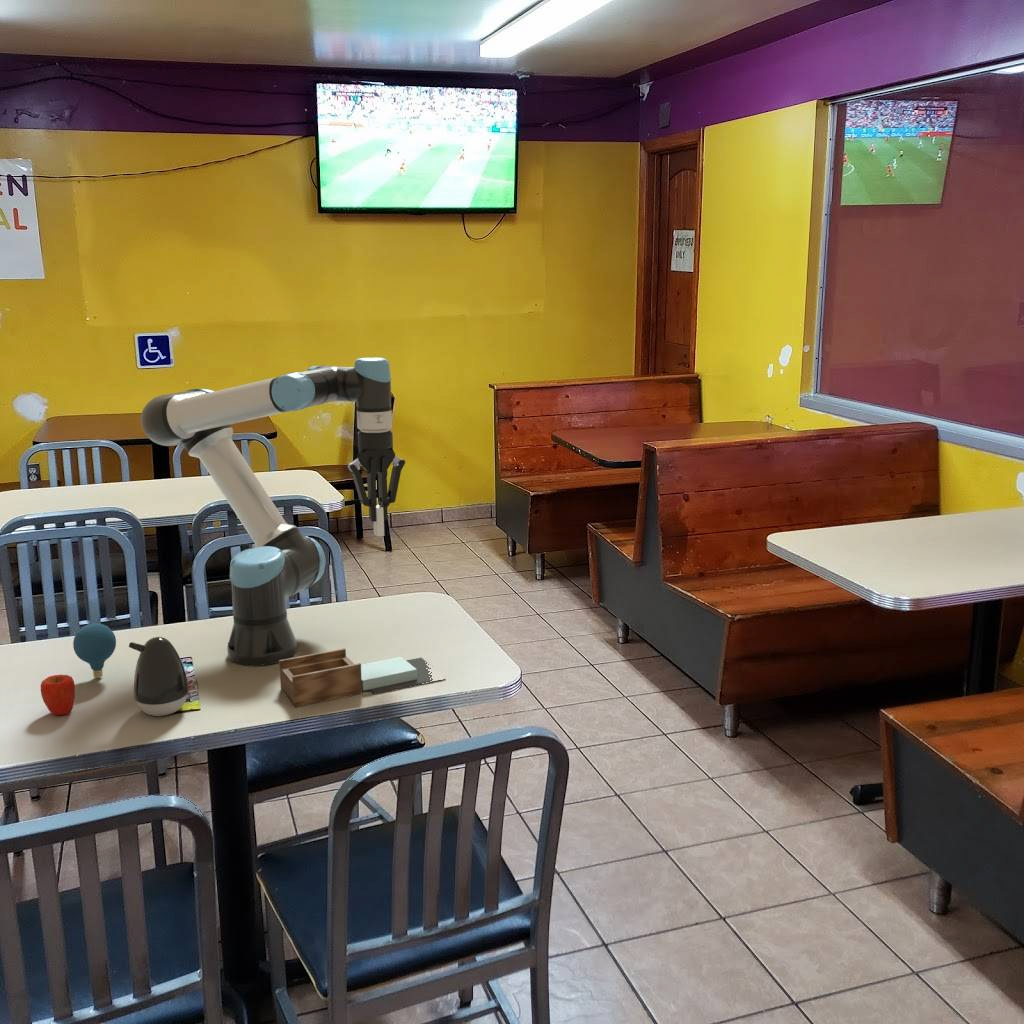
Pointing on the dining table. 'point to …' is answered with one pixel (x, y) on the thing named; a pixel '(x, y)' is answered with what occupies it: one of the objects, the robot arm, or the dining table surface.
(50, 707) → the apple
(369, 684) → the lid
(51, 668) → the dining table surface
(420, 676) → the mat
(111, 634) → the light bulb
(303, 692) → the box
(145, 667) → the pump dispenser
